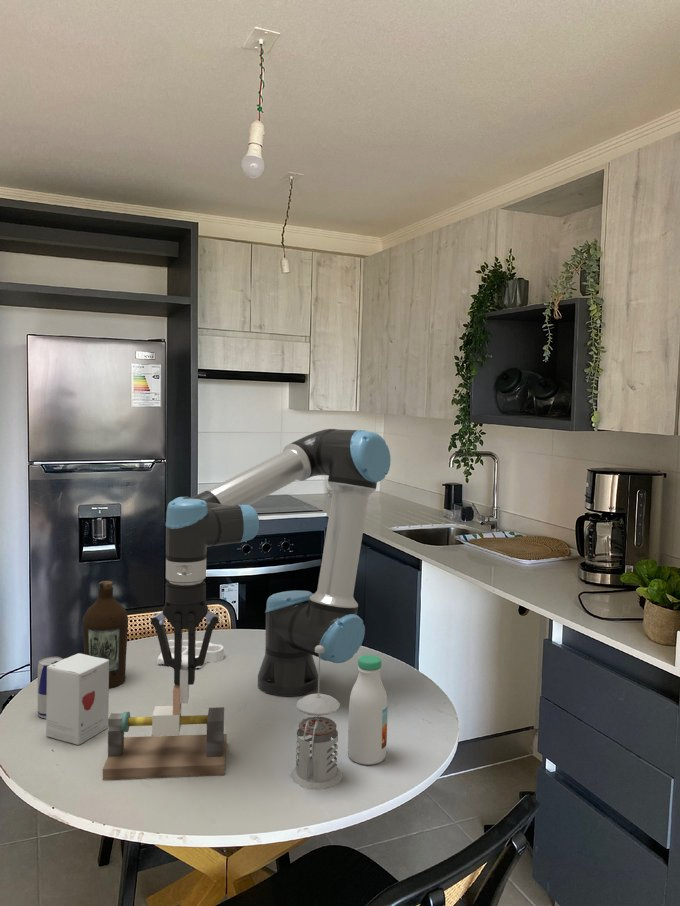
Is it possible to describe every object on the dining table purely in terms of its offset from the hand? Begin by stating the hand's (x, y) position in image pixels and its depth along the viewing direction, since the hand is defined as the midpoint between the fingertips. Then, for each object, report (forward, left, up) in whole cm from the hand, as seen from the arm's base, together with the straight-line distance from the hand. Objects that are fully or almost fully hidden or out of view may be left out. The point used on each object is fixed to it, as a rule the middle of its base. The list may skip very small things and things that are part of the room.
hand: (184, 700), depth 132 cm
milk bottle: (-36, +1, -12) cm, 38 cm away
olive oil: (+23, -39, -12) cm, 47 cm away
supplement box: (+23, -13, -12) cm, 29 cm away
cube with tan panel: (+3, 0, -6) cm, 7 cm away
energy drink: (+31, -22, -12) cm, 40 cm away
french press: (-25, +8, -12) cm, 29 cm away
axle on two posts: (+3, 0, -12) cm, 12 cm away
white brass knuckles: (+4, -54, -13) cm, 56 cm away
